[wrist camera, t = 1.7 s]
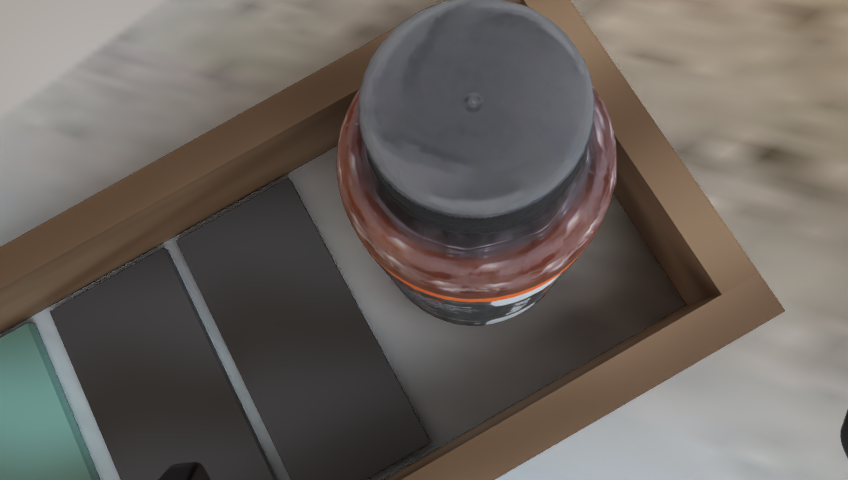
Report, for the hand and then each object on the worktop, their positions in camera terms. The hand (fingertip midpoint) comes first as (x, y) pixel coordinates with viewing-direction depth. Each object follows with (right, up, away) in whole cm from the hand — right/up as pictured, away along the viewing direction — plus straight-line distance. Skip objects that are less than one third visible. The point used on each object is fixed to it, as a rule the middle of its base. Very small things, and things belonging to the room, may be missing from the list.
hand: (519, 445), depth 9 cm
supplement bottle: (0, +3, +13) cm, 13 cm away
